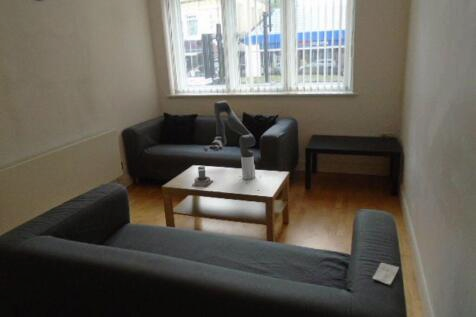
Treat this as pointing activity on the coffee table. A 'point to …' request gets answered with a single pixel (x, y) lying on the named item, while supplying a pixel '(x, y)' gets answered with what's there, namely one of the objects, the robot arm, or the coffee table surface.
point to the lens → (201, 173)
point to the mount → (202, 182)
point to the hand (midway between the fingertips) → (211, 150)
